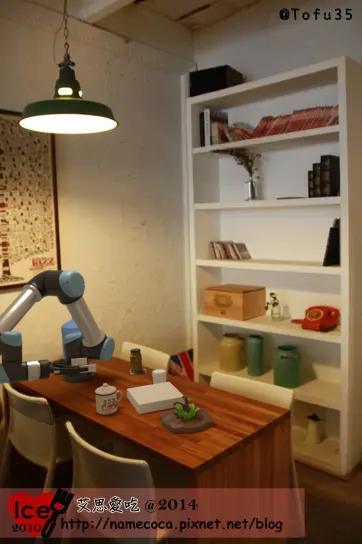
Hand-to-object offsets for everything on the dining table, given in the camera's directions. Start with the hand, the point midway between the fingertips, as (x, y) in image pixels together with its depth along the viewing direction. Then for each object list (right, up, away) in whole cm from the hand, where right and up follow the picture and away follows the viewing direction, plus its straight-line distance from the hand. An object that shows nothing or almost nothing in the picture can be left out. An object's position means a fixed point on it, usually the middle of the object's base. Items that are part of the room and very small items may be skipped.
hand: (91, 364), depth 197 cm
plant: (+39, -21, -11) cm, 46 cm away
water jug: (-22, -13, +76) cm, 80 cm away
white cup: (+27, -16, +31) cm, 44 cm away
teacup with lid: (+7, -20, +4) cm, 22 cm away
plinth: (+26, -18, +11) cm, 34 cm away
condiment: (+15, -14, +52) cm, 55 cm away
